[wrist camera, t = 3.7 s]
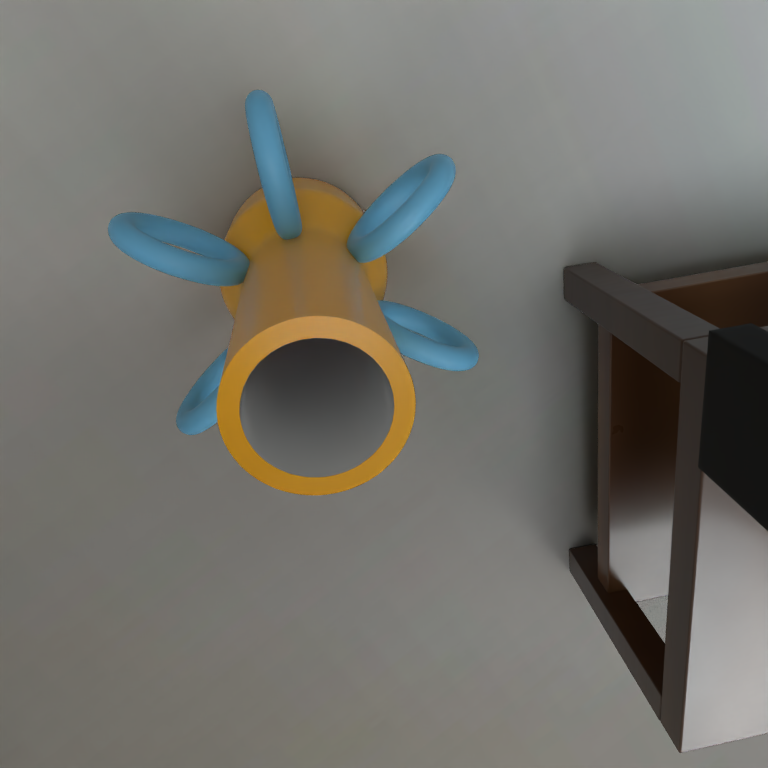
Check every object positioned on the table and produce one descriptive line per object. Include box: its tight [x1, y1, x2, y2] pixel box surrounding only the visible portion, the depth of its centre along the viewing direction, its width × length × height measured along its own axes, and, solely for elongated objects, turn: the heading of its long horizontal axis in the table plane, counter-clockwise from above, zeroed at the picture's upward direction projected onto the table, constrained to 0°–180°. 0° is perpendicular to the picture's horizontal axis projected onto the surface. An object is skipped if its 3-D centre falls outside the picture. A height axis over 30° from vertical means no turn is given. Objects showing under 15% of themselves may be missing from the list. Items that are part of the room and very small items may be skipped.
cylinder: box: [108, 90, 479, 495], centre depth 20 cm, size 12×10×15 cm
